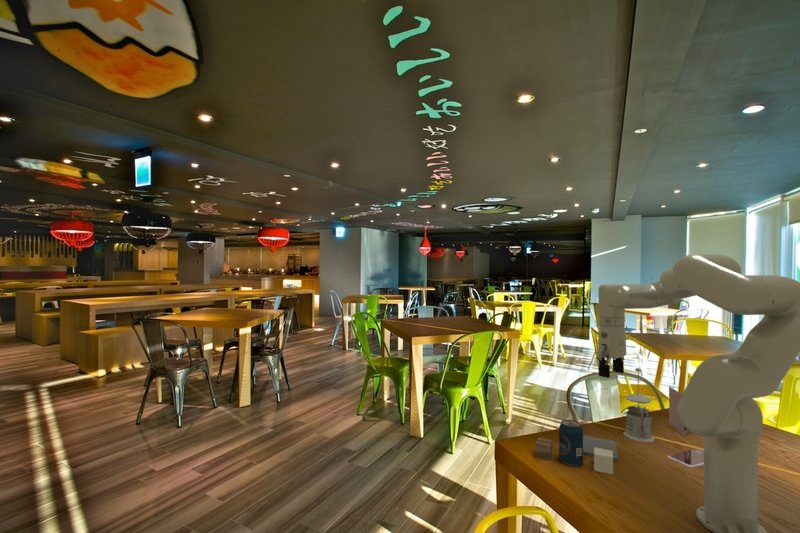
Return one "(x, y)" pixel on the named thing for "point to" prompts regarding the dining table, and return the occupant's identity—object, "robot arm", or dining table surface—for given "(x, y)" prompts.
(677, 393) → the greeting card
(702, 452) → the mobile phone
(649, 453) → the dining table surface
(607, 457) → the off-white block
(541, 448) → the walnut block
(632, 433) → the french press
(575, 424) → the soda can
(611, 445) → the mat
